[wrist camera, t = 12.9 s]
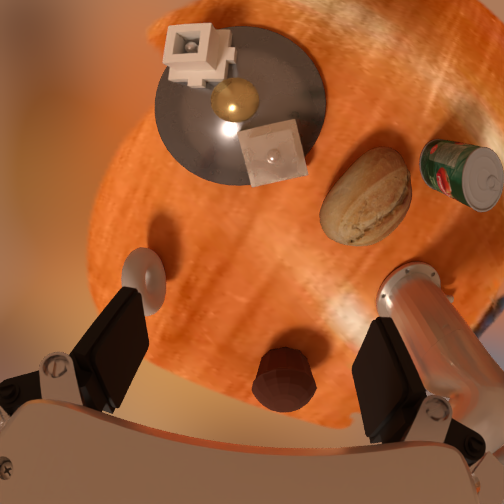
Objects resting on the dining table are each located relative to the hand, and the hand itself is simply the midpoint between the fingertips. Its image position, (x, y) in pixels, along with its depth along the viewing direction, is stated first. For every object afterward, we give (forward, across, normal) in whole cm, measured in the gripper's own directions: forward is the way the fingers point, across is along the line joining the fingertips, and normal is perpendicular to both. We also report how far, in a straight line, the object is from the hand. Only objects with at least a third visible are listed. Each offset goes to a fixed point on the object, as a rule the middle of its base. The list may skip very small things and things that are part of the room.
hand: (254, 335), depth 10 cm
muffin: (+29, -7, +32) cm, 43 cm away
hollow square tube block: (+27, +10, -17) cm, 34 cm away
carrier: (+28, +5, -11) cm, 31 cm away
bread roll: (+29, -13, -1) cm, 31 cm away
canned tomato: (+28, -25, -8) cm, 39 cm away
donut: (+28, +16, +14) cm, 36 cm away
